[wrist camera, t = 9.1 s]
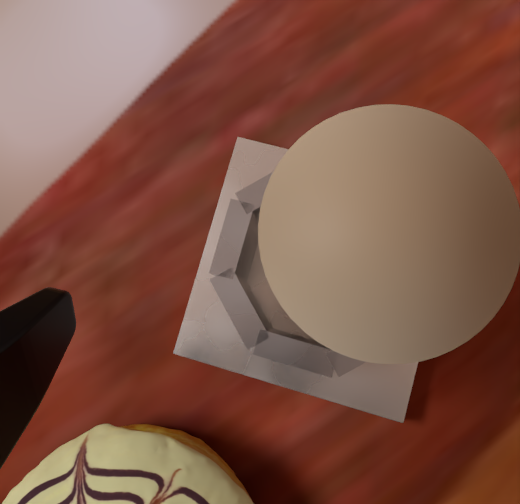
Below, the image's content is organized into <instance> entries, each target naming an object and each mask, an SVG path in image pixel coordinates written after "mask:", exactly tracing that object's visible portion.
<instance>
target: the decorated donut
mask: <svg viewBox="0 0 520 504" xmlns="http://www.w3.org/2000/svg"><path fill="white" fill-rule="evenodd" d="M2 504H254V503H253V502H252V499H251V497H250V496H249V494H248V492H247V491H246V489H245V487H244V486H243V484H242V483H241V482H240V481H239V479H238V478H237V477H236V476H235V473H234V471H233V470H232V469H231V468H230V467H229V466H228V465H227V463H226V462H225V461H224V460H223V459H222V458H221V457H220V456H219V455H218V454H217V453H216V452H215V451H214V450H212V449H211V448H210V447H209V446H208V445H207V444H206V443H205V442H204V441H202V440H201V439H199V438H196V437H194V436H191V435H189V434H187V433H186V432H184V431H181V430H175V429H168V428H164V427H161V426H156V425H150V424H133V425H129V426H121V427H116V426H113V425H111V424H101V425H97V426H96V427H94V428H92V429H91V430H89V431H87V432H86V433H84V434H82V435H81V436H79V437H77V438H75V439H73V440H71V441H69V442H68V443H66V444H64V445H62V446H60V447H59V448H57V449H56V450H55V451H54V452H52V453H51V454H50V455H49V456H47V457H46V458H45V459H44V460H43V461H41V463H40V464H39V465H38V466H37V467H36V468H35V469H33V470H32V471H31V472H29V473H28V474H27V475H26V476H25V477H24V479H23V480H22V481H21V482H20V483H19V484H18V485H17V486H16V487H14V488H13V489H12V490H11V491H10V492H9V494H8V496H7V497H6V499H5V500H4V501H3V503H2Z"/></svg>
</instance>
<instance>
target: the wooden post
mask: <svg viewBox="0 0 520 504" xmlns="http://www.w3.org/2000/svg"><path fill="white" fill-rule="evenodd" d="M258 244H259V251H260V257H261V262H262V265H263V269H264V272H265V276H266V278H267V280H268V283H269V285H270V287H271V290H272V292H273V293H274V295H275V297H276V299H277V300H278V302H279V304H280V305H281V307H282V308H283V309H284V310H285V312H286V313H287V314H288V316H289V317H290V318H291V319H292V320H293V321H294V322H295V323H296V324H297V325H298V326H299V327H300V328H301V329H302V330H303V331H304V332H305V333H306V334H308V335H309V336H310V337H312V338H313V339H314V340H316V341H317V342H318V343H320V344H322V345H324V346H326V347H327V348H329V349H331V350H333V351H335V352H337V353H340V354H342V355H345V356H347V357H350V358H353V359H357V360H361V361H365V362H370V363H378V364H407V363H414V362H421V361H424V360H428V359H431V358H435V357H438V356H440V355H443V354H445V353H447V352H449V351H452V350H454V349H456V348H457V347H459V346H460V345H462V344H464V343H465V342H467V341H469V340H470V339H471V338H472V337H474V336H475V335H476V334H477V333H479V332H480V331H481V330H482V329H483V328H484V327H485V326H486V325H487V324H488V323H489V322H490V321H491V320H492V319H493V318H494V316H495V315H496V313H497V312H498V311H499V309H500V308H501V306H502V305H503V304H504V302H505V300H506V298H507V296H508V294H509V292H510V291H511V289H512V286H513V284H514V281H515V278H516V275H517V272H518V269H519V264H520V209H519V204H518V201H517V198H516V195H515V192H514V189H513V186H512V184H511V182H510V180H509V178H508V176H507V174H506V172H505V170H504V169H503V167H502V166H501V164H500V163H499V161H498V160H497V158H496V157H495V156H494V155H493V154H492V152H491V151H490V150H489V149H488V148H487V147H486V146H485V144H483V143H482V142H481V141H480V140H479V139H478V138H477V137H476V136H474V135H473V134H472V133H471V132H469V131H468V130H466V129H465V128H464V127H462V126H461V125H459V124H458V123H456V122H454V121H452V120H450V119H448V118H446V117H444V116H442V115H439V114H437V113H434V112H431V111H428V110H425V109H421V108H416V107H412V106H404V105H394V104H388V105H372V106H365V107H359V108H356V109H352V110H349V111H345V112H342V113H340V114H338V115H335V116H333V117H331V118H328V119H326V120H325V121H323V122H321V123H320V124H318V125H316V126H315V127H313V128H312V129H311V130H309V131H308V132H307V133H305V134H304V135H303V136H302V137H300V138H299V139H298V140H297V141H296V142H295V143H294V144H293V146H292V147H291V148H290V149H289V150H288V151H287V152H286V154H285V155H284V156H283V158H282V159H281V160H280V162H279V163H278V165H277V166H276V168H275V170H274V172H273V174H272V175H271V177H270V180H269V182H268V185H267V187H266V189H265V192H264V195H263V199H262V203H261V207H260V213H259V222H258Z"/></svg>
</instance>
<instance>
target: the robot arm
mask: <svg viewBox="0 0 520 504" xmlns="http://www.w3.org/2000/svg"><path fill="white" fill-rule="evenodd" d="M75 328H76V318H75V313H74V308H73V302H72V297H71V295H70V293H69V292H67V291H64V290H60V289H56V288H45V289H42V290H40V291H39V292H37V293H35V294H33V295H31V296H29V297H27V298H25V299H23V300H21V301H19V302H17V303H15V304H13V305H11V306H10V307H8V308H6V309H4V310H2V311H0V469H1V467H2V466H3V464H4V462H5V461H6V459H7V457H8V456H9V454H10V453H11V451H12V449H13V448H14V446H15V445H16V443H17V441H18V440H19V438H20V436H21V435H22V433H23V432H24V430H25V428H26V427H27V425H28V424H29V422H30V420H31V419H32V417H33V415H34V414H35V412H36V410H37V408H38V407H39V405H40V403H41V401H42V399H43V397H44V395H45V393H46V391H47V389H48V387H49V385H50V383H51V381H52V379H53V377H54V375H55V372H56V370H57V368H58V366H59V364H60V362H61V360H62V358H63V356H64V354H65V351H66V349H67V347H68V345H69V343H70V341H71V339H72V337H73V335H74V332H75Z"/></svg>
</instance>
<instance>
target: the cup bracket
mask: <svg viewBox="0 0 520 504" xmlns="http://www.w3.org/2000/svg"><path fill="white" fill-rule="evenodd" d="M288 150H289V149H285V148H281V147H277V146H273V145H269V144H264V143H260V142H256V141H252V140H248V139H244V138H240V137H237V141H236V144H235V148H234V151H233V154H232V158H231V161H230V164H229V168H228V171H227V174H226V178H225V181H224V185H223V188H222V191H221V195H220V198H219V201H218V205H217V208H216V211H215V215H214V218H213V221H212V225H211V228H210V232H209V235H208V238H207V242H206V245H205V248H204V252H203V255H202V258H201V262H200V265H199V268H198V272H197V275H196V279H195V282H194V285H193V289H192V292H191V295H190V299H189V302H188V305H187V309H186V312H185V316H184V319H183V322H182V326H181V329H180V332H179V336H178V339H177V342H176V346H175V349H174V352H173V353H174V354H177V355H180V356H183V357H187V358H190V359H193V360H197V361H200V362H203V363H206V364H210V365H213V366H216V367H220V368H223V369H226V370H230V371H233V372H236V373H239V374H243V375H246V376H249V377H253V378H256V379H259V380H263V381H266V382H269V383H272V384H276V385H279V386H282V387H286V388H289V389H292V390H295V391H299V392H302V393H305V394H309V395H312V396H315V397H319V398H322V399H325V400H328V401H332V402H335V403H338V404H342V405H345V406H348V407H351V408H355V409H358V410H361V411H365V412H368V413H371V414H375V415H378V416H381V417H384V418H388V419H391V420H394V421H398V422H401V423H403V422H404V418H405V414H406V410H407V406H408V402H409V398H410V394H411V390H412V386H413V382H414V377H415V373H416V369H417V365H418V362H414V363H407V364H378V363H370V362H365V361H361V360H357V359H353V358H350V357H347V356H345V355H342V354H340V353H337V352H335V351H333V350H331V349H329V348H327V347H326V346H324V345H322V344H320V343H318V342H317V341H316V340H314V339H313V338H312V337H310V336H309V335H308V334H306V333H305V332H304V331H303V330H302V329H301V328H300V327H299V326H298V325H297V324H296V323H295V322H294V321H293V320H292V319H291V318H290V317H289V316H288V314H287V313H286V312H285V310H284V309H283V308H282V307H281V305H280V304H279V302H278V300H277V299H276V297H275V295H274V293H273V292H272V290H271V287H270V285H269V283H268V280H267V278H266V276H265V272H264V269H263V265H262V262H261V257H260V251H259V244H258V222H259V213H260V207H261V203H262V199H263V195H264V192H265V189H266V187H267V185H268V182H269V180H270V177H271V175H272V174H273V172H274V170H275V168H276V166H277V165H278V163H279V162H280V160H281V159H282V158H283V156H284V155H285V154H286V152H287V151H288Z"/></svg>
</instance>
